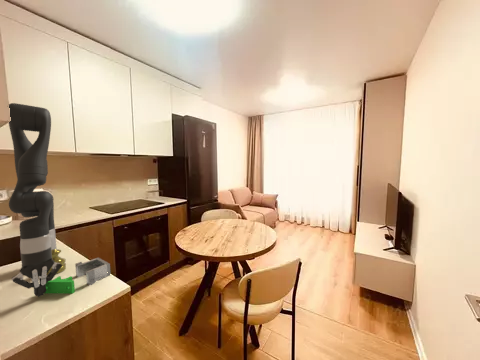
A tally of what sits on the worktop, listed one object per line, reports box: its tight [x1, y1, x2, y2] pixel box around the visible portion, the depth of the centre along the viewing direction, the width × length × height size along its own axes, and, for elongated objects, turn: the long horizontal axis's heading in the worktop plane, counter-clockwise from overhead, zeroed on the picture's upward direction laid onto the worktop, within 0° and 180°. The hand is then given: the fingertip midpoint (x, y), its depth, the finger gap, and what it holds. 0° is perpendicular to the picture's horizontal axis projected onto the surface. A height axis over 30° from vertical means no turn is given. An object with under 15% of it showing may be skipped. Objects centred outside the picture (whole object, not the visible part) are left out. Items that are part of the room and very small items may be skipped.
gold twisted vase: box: [46, 248, 67, 276], centre depth 89 cm, size 7×7×10 cm
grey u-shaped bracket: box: [74, 257, 112, 286], centre depth 85 cm, size 13×8×5 cm, turn 58°
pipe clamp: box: [44, 275, 76, 295], centre depth 75 cm, size 11×4×5 cm, turn 89°
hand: (40, 295), depth 71 cm, fingers closed
